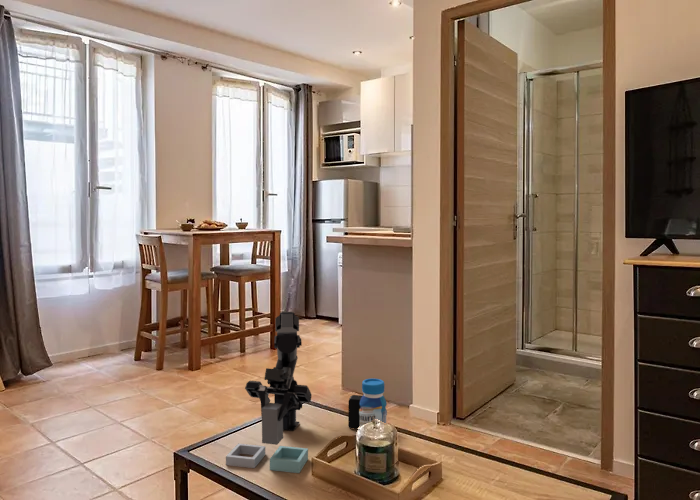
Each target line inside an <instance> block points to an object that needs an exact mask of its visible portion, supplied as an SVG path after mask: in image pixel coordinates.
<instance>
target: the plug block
mask: <svg viewBox="0 0 700 500" xmlns="http://www.w3.org/2000/svg"><path fill="white" fill-rule="evenodd" d="M281 406H282V404H277V403H274V402H270V403H267V404H266V405H265V406H264V407H263V408H262V416H261V437H262V438H261V443H262V444H266V445H275V446H276V445H279V444H280V442H282V440H283V439H284V430H283V418H282V419H281V421H278V416H279V412H280V409H281Z"/></svg>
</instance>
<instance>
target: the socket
mask: <svg viewBox="0 0 700 500" xmlns="http://www.w3.org/2000/svg"><path fill="white" fill-rule="evenodd" d="M308 460H309V448H305V447H296V446H286V445H285V446H284V445H279V446H278V448H277V449H276V450H275V451H274V452H273V454H272V455H271V456H270V458H269V471H277V472H286V473H295V474H300V473H301V471H302V469H303V468H304V466H305V465H306V463H307V461H308Z"/></svg>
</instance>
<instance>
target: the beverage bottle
mask: <svg viewBox="0 0 700 500" xmlns="http://www.w3.org/2000/svg"><path fill="white" fill-rule="evenodd" d="M361 391H362V393H363V395H361V396H362V398H361V400H360V406H361V408H360V410H359V415H360V426H362V425H363V424H366V423H368V422H371V421H372V420H374V419H378V420H380V421H382V422H384V423H386V424H387V416H388V410H387V408H386V407H387V405H388V403H387V400H386V398H385V396H384V395H383V394H385V381H384V380H382V379H380V378H374V377H373V378H366V379H363V380H362V384H361Z"/></svg>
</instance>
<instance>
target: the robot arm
mask: <svg viewBox="0 0 700 500" xmlns="http://www.w3.org/2000/svg"><path fill="white" fill-rule="evenodd" d="M274 323H275V324H274V326H275V327H274V328H275V329H274V330H275V333H276V335H274V342H273V345H274V346H273V347H274V349H276V355H277V360H276V364H275V366H274V367H272V368H269V367H268V368H265V372H264V379H263V380H264V381H267V384H268V385H269V386H266V385H263V383H262V382H261V381H259V380H249V381H247V382H246V384H245V388H244V390H245V391H246V392H247V394H248V395H249V396H250V398H255V399H256V398H257V399H259V401H260V411H261V412H260V413H261V414H260V415H261V417H262V408H263V407H264V406H265V405H266V404H267V403H271V399H270V397H269V395H274V396H273V397H274V400H273V401H274V402H273V403H277V404H282V406H281V409H280V412H279V416H278V421H281V419H282V418H283V431H284V430H285V431H292V432H294V431H295V430H296V429H297V427H298V426H299V425H300V421H297V411H301V409H303V403H310V402H311V400H312V397H313V396H312V392H311V390H310V388H309V386H308V385H305V384H298V381H297V380H295V379H294V373H295V369H296V367H297V362H298V355H297V354H298V349H300V347H301V346H302V343H303V342H302V341H303V340H302V338H301V337H300V335H299V334H298V332H300V317H298V316H297V315H296V314H295V311H294V312H293V311H280V312H279V315H278V316H276V317H275V321H274Z"/></svg>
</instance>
